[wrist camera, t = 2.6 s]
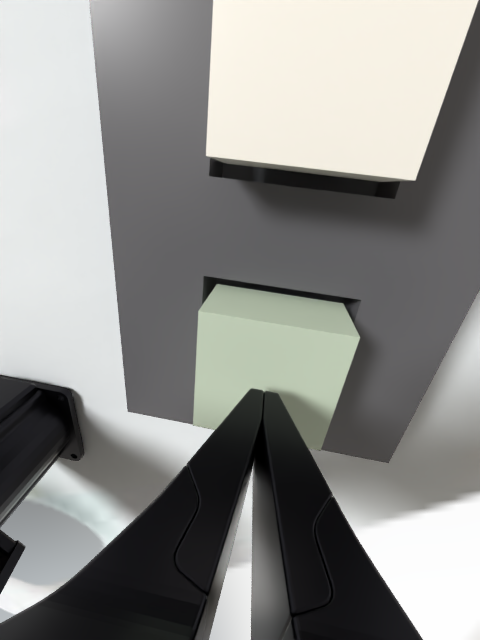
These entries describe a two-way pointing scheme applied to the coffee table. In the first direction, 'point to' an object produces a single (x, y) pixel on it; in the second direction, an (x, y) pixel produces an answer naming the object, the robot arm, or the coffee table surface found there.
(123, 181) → the grey flat rectangular block
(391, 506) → the coffee table surface
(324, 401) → the sage keycap
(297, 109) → the ivory keycap
